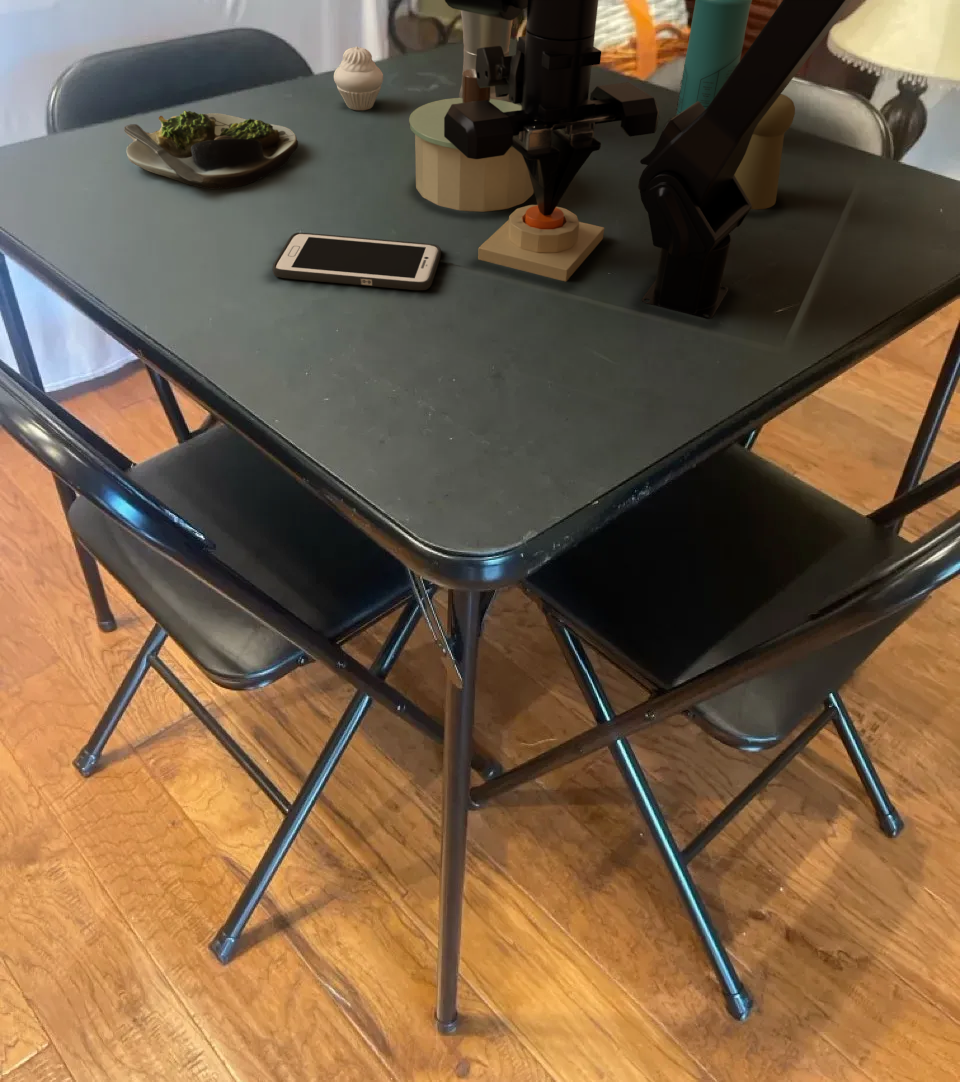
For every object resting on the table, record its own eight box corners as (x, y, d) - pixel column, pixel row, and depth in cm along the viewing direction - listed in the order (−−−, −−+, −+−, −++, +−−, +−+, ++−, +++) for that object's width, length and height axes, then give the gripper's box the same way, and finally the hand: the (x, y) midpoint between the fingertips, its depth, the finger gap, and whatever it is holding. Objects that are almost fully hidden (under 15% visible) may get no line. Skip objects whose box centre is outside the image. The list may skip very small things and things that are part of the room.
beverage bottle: (713, 151, 110) (752, -43, 96) (662, 139, 112) (693, -52, 99) (732, 135, 114) (773, -54, 100) (683, 123, 116) (716, -62, 103)
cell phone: (293, 240, 90) (292, 231, 89) (442, 254, 89) (442, 244, 88) (270, 278, 84) (269, 268, 83) (429, 293, 83) (429, 283, 82)
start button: (553, 242, 86) (555, 224, 85) (518, 234, 87) (519, 216, 86) (567, 227, 89) (569, 210, 87) (533, 219, 90) (534, 202, 88)
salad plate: (78, 166, 101) (66, 122, 98) (185, 116, 113) (178, 76, 110) (220, 205, 95) (212, 160, 92) (317, 148, 107) (314, 106, 104)
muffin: (335, 97, 119) (331, 38, 114) (383, 97, 120) (381, 38, 115) (335, 115, 115) (331, 54, 110) (385, 114, 115) (382, 54, 110)
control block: (565, 287, 85) (569, 251, 83) (477, 264, 88) (478, 229, 85) (602, 243, 92) (606, 209, 89) (519, 223, 94) (522, 190, 92)
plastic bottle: (520, 126, 114) (531, -63, 100) (491, 143, 110) (499, -53, 96) (476, 115, 116) (482, -72, 102) (446, 131, 112) (448, -62, 98)
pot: (503, 226, 94) (507, 156, 89) (395, 200, 97) (393, 132, 93) (550, 182, 102) (556, 116, 97) (449, 159, 106) (450, 95, 101)
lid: (511, 166, 89) (514, 105, 85) (385, 141, 92) (383, 81, 88) (559, 121, 98) (564, 65, 94) (443, 100, 101) (444, 44, 98)
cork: (776, 217, 97) (804, 108, 90) (718, 210, 98) (741, 102, 90) (774, 194, 102) (801, 88, 94) (719, 188, 102) (741, 82, 95)
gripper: (608, -4, 84) (589, 167, 95) (419, 13, 78) (421, 194, 89) (676, 30, 77) (646, 211, 88) (472, 52, 71) (468, 243, 82)
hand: (545, 213), depth 87 cm, fingers closed, pressing on start button
